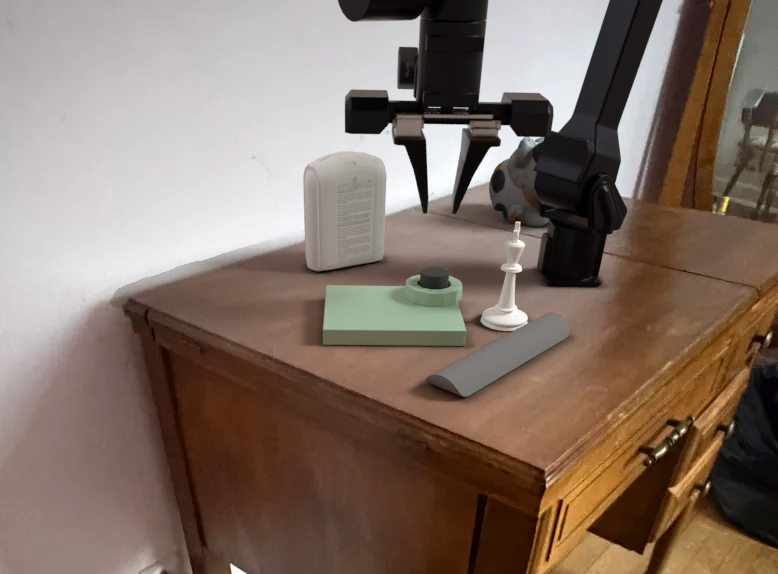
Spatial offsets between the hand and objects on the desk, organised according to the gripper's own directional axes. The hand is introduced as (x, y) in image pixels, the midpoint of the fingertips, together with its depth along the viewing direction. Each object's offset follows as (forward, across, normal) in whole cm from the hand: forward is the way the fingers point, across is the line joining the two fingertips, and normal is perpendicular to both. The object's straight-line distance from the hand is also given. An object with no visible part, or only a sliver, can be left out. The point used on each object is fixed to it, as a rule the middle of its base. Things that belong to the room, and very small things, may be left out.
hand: (439, 212), depth 71 cm
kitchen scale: (+10, +4, +3) cm, 11 cm away
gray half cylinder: (+10, -6, +12) cm, 17 cm away
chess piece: (+10, -7, +3) cm, 13 cm away
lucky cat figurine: (+10, -20, -36) cm, 42 cm away
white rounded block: (+10, +10, -15) cm, 20 cm away
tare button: (+7, 0, 0) cm, 7 cm away
